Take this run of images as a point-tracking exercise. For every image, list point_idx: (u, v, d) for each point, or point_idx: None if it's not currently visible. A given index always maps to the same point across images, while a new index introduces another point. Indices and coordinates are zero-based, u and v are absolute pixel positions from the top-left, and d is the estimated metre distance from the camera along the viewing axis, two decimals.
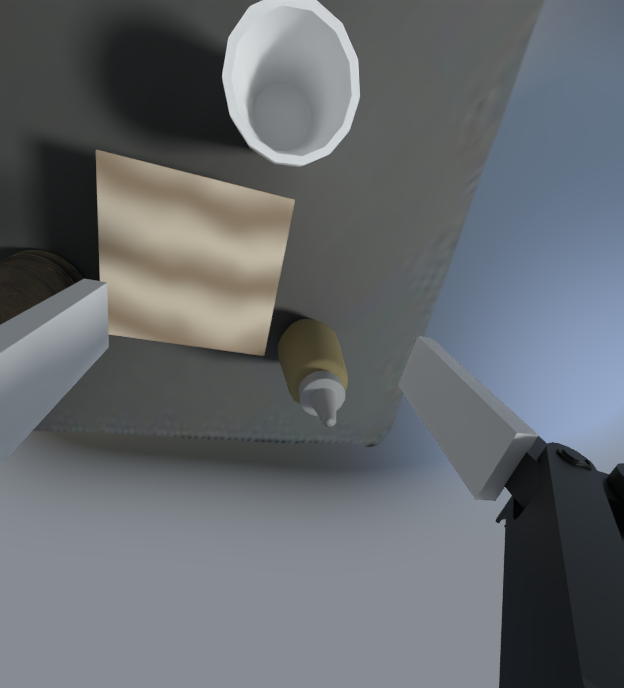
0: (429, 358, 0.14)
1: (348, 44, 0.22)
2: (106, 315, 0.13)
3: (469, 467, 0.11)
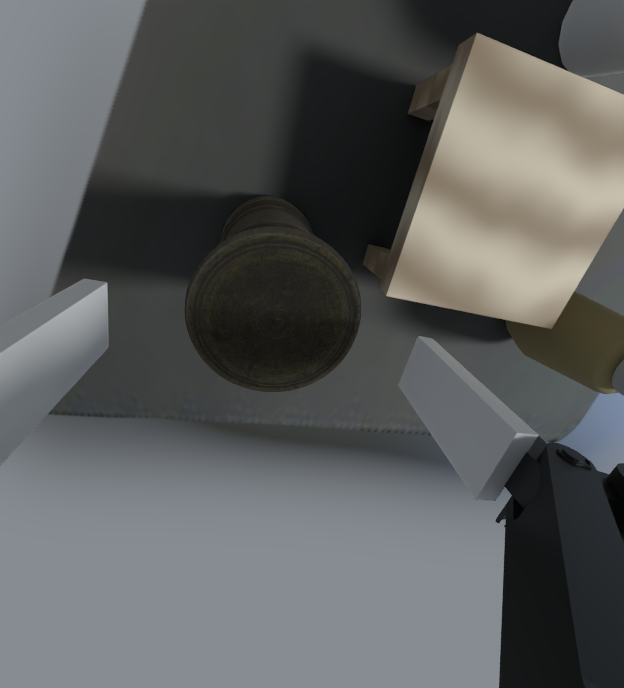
0: (429, 358, 0.14)
1: None
2: (106, 315, 0.13)
3: (469, 467, 0.11)
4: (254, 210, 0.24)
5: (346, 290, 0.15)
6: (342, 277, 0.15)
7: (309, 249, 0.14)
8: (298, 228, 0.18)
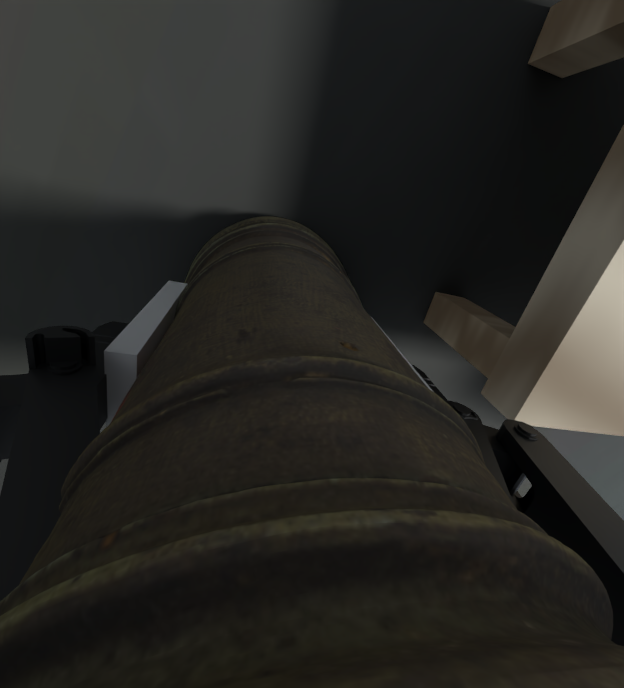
0: None
1: None
2: None
3: None
4: (240, 253, 0.11)
5: None
6: None
7: None
8: (387, 377, 0.05)
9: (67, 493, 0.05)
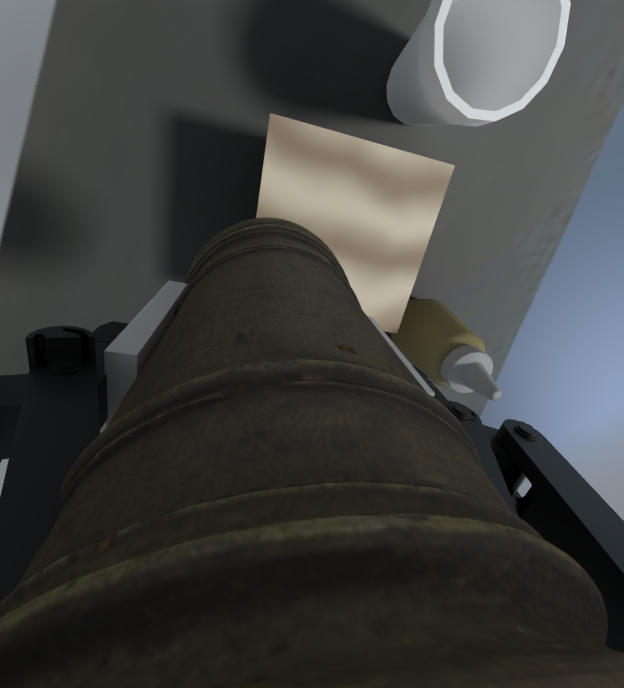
0: None
1: None
2: None
3: None
4: (238, 254, 0.11)
5: None
6: None
7: None
8: (384, 381, 0.05)
9: (65, 496, 0.05)
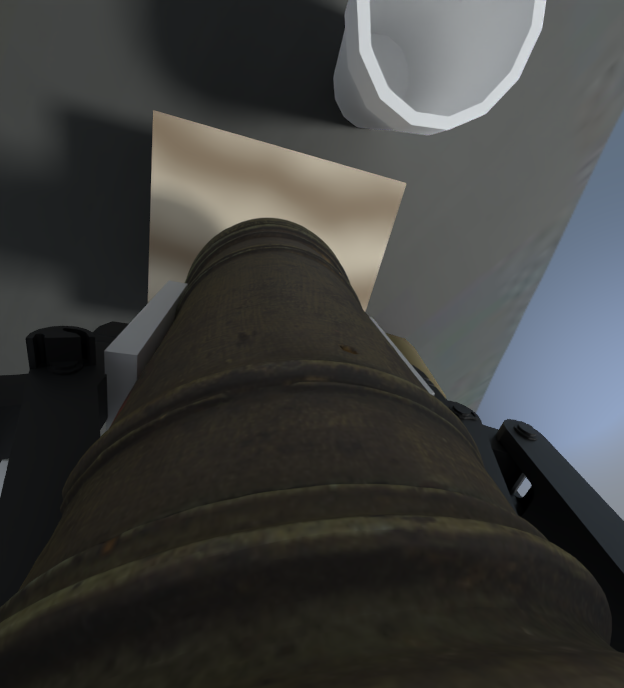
0: None
1: None
2: None
3: None
4: (240, 255, 0.11)
5: None
6: None
7: None
8: (387, 381, 0.05)
9: (67, 497, 0.05)
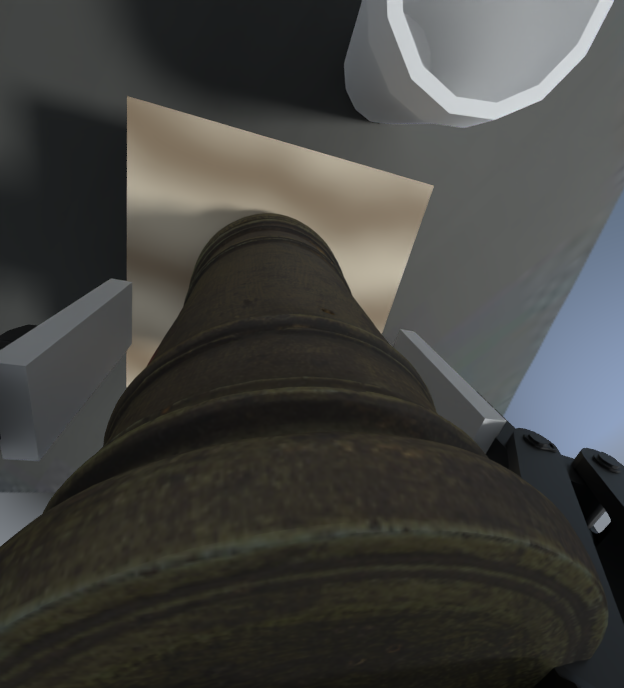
0: (410, 350, 0.14)
1: None
2: (130, 313, 0.13)
3: None
4: (243, 245, 0.13)
5: (573, 635, 0.04)
6: (576, 610, 0.04)
7: (475, 565, 0.03)
8: (353, 331, 0.06)
9: (118, 414, 0.06)
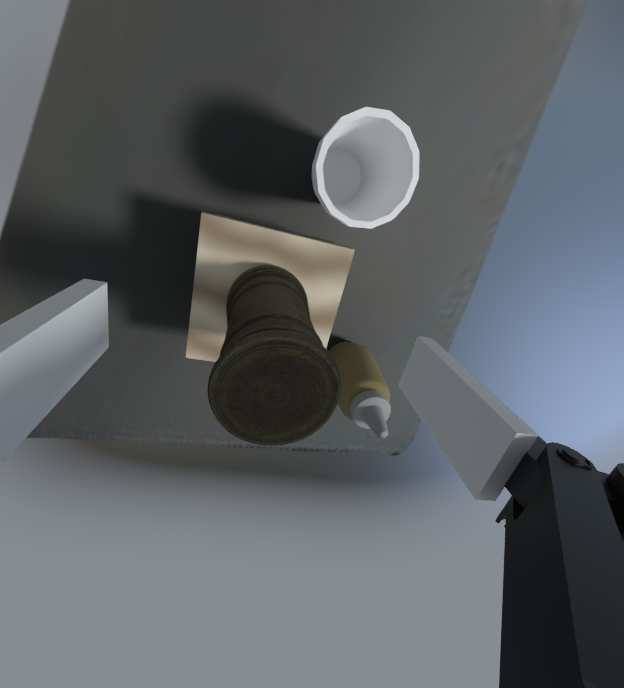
0: (430, 358, 0.14)
1: (412, 141, 0.28)
2: (106, 315, 0.13)
3: (469, 467, 0.11)
4: (257, 284, 0.30)
5: (329, 373, 0.20)
6: (326, 364, 0.20)
7: (301, 347, 0.19)
8: (293, 317, 0.23)
9: (228, 340, 0.23)
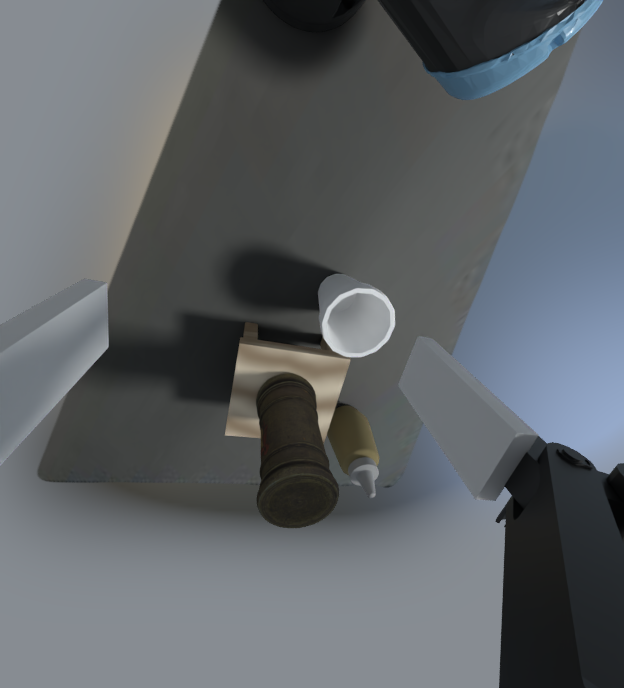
0: (430, 358, 0.14)
1: (389, 304, 0.40)
2: (106, 315, 0.13)
3: (469, 467, 0.11)
4: (281, 400, 0.42)
5: (331, 489, 0.33)
6: (329, 484, 0.33)
7: (314, 477, 0.32)
8: (308, 444, 0.35)
9: (266, 460, 0.35)
